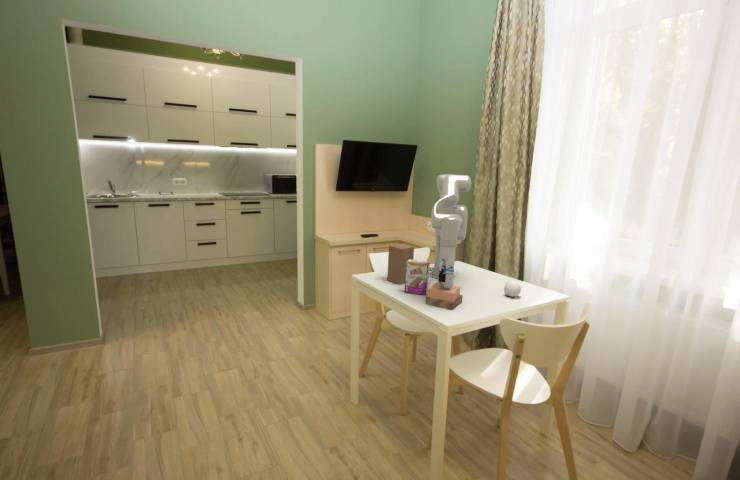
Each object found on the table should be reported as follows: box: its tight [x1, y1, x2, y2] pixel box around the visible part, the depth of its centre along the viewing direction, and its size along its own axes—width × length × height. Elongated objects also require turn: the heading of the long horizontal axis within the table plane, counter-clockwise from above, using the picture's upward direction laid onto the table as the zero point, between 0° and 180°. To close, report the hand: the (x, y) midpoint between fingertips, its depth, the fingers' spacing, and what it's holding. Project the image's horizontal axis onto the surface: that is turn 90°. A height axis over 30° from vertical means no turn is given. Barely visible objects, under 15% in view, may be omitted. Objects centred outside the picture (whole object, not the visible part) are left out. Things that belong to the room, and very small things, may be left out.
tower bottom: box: [425, 294, 463, 311], centre depth 178 cm, size 13×13×4 cm
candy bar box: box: [404, 259, 431, 296], centre depth 190 cm, size 11×5×16 cm, turn 71°
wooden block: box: [386, 243, 415, 285], centre depth 208 cm, size 10×10×20 cm
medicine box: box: [437, 267, 455, 288], centre depth 176 cm, size 8×4×9 cm, turn 8°
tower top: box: [427, 281, 461, 302], centre depth 178 cm, size 12×12×4 cm
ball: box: [503, 280, 522, 298], centre depth 191 cm, size 8×8×8 cm
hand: (445, 279), depth 177 cm, fingers open, 9 cm apart
